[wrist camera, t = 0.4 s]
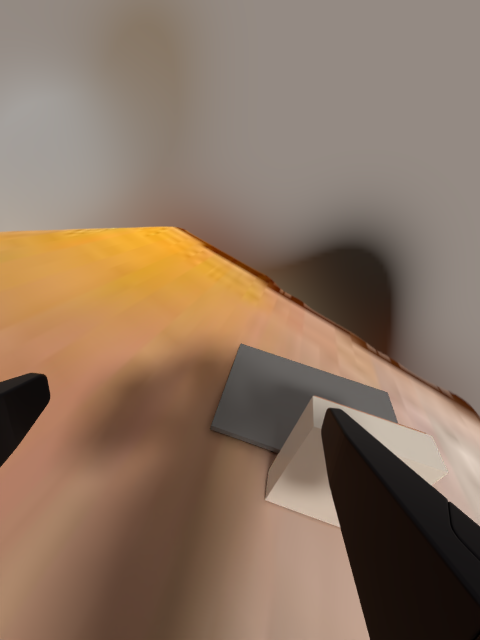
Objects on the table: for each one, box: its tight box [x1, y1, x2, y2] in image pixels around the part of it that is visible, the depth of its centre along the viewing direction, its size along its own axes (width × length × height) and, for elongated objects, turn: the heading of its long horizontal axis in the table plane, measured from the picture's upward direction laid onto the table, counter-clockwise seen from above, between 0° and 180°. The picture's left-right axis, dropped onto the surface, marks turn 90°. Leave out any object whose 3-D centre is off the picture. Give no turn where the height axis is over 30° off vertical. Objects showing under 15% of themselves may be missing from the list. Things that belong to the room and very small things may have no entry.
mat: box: [210, 344, 398, 453], centre depth 30 cm, size 13×20×1 cm, turn 78°
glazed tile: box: [265, 395, 449, 527], centre depth 19 cm, size 3×8×10 cm, turn 77°
